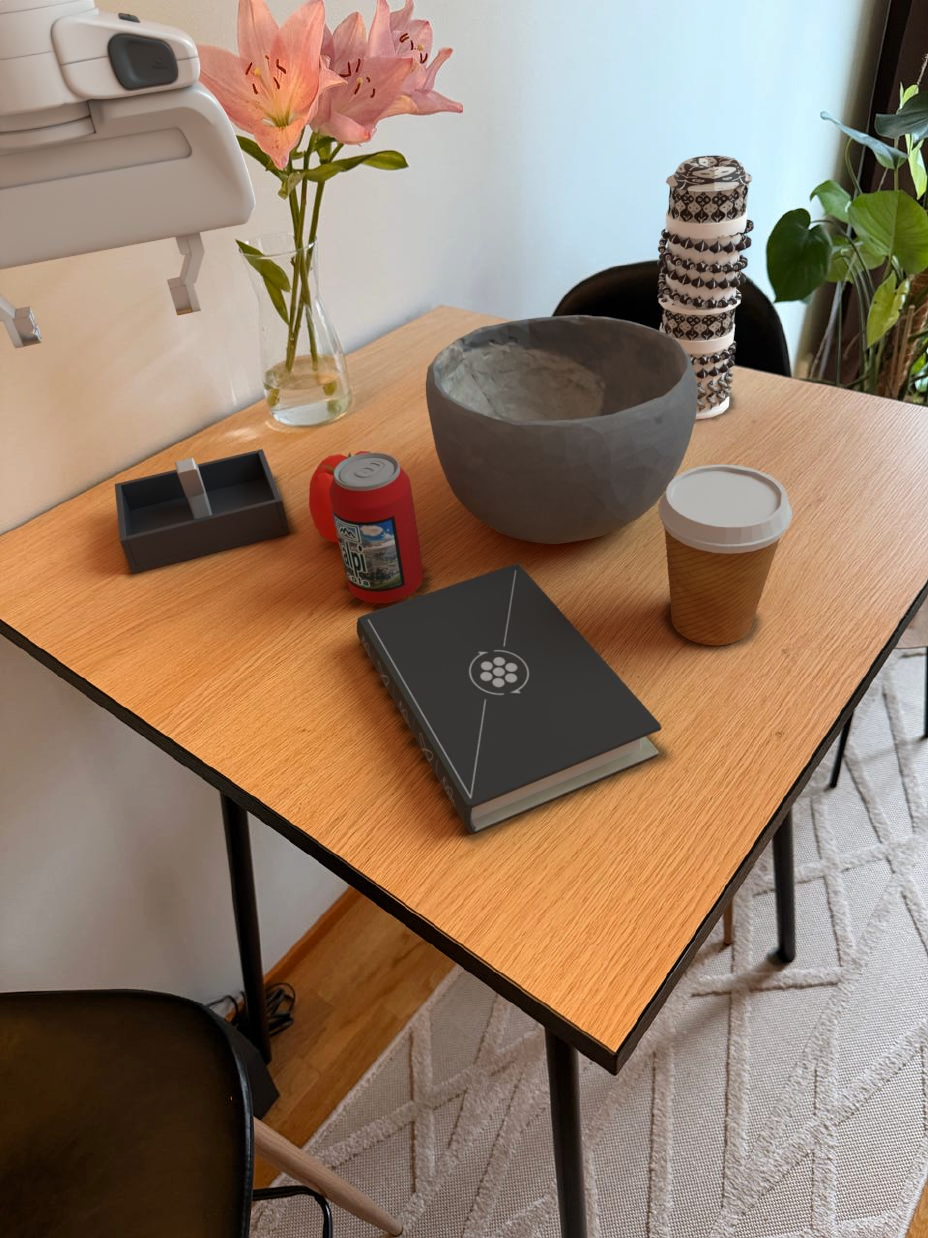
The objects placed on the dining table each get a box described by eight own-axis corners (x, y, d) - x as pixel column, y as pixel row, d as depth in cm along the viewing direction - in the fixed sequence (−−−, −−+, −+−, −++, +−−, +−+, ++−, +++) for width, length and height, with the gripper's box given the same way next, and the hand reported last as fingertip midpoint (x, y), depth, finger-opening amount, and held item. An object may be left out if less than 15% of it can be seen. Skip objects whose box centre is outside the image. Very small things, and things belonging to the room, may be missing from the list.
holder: (132, 574, 86) (119, 541, 83) (126, 515, 94) (114, 483, 92) (290, 533, 89) (282, 500, 86) (270, 479, 97) (262, 448, 95)
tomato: (317, 514, 91) (302, 447, 86) (405, 503, 91) (395, 436, 86) (314, 568, 84) (298, 499, 79) (410, 556, 84) (400, 487, 79)
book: (359, 645, 75) (353, 618, 73) (519, 589, 79) (518, 562, 77) (467, 838, 59) (463, 808, 57) (660, 755, 63) (663, 726, 61)
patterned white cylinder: (740, 419, 99) (770, 170, 83) (653, 423, 100) (667, 178, 84) (726, 381, 106) (752, 146, 90) (646, 386, 107) (657, 153, 91)
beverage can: (333, 595, 80) (307, 478, 73) (381, 556, 84) (361, 441, 77) (393, 619, 77) (372, 499, 70) (439, 576, 81) (424, 459, 74)
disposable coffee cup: (798, 627, 72) (823, 499, 64) (708, 677, 69) (724, 547, 61) (713, 571, 79) (727, 448, 71) (627, 613, 75) (632, 489, 68)
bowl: (495, 430, 101) (486, 297, 92) (715, 463, 92) (730, 318, 83) (390, 553, 85) (366, 405, 75) (645, 607, 76) (654, 448, 66)
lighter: (191, 503, 93) (168, 434, 88) (208, 499, 93) (186, 429, 88) (199, 539, 88) (175, 467, 83) (217, 535, 88) (194, 463, 83)
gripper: (-220, 103, 41) (-79, 384, 50) (224, 39, 46) (282, 309, 54) (-192, 83, 46) (-67, 344, 55) (209, 27, 50) (265, 277, 59)
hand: (110, 326), depth 55 cm, fingers open, 8 cm apart
